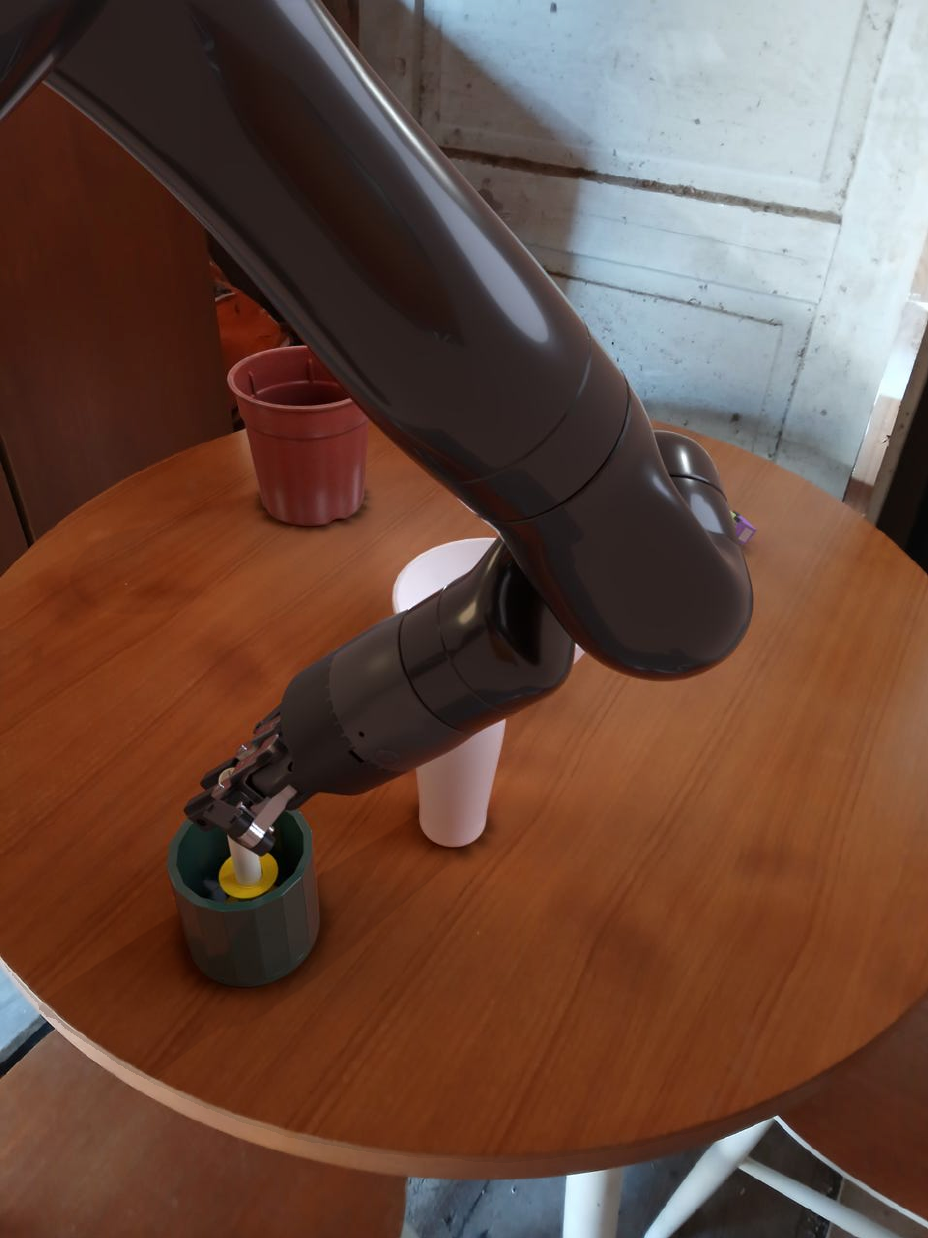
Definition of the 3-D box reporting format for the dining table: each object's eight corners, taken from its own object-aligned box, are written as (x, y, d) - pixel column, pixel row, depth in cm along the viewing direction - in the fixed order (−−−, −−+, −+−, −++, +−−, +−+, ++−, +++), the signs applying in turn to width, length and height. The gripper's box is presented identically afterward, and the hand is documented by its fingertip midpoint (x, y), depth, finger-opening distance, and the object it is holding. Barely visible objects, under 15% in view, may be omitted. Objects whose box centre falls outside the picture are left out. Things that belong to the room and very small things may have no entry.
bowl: (453, 572, 99) (455, 517, 94) (620, 632, 92) (631, 575, 88) (352, 675, 85) (350, 616, 81) (540, 754, 79) (549, 695, 74)
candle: (233, 965, 61) (200, 817, 51) (208, 906, 64) (173, 757, 55) (306, 931, 63) (287, 783, 53) (278, 876, 67) (255, 727, 57)
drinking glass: (507, 808, 74) (523, 673, 64) (473, 871, 69) (485, 734, 59) (433, 779, 76) (438, 644, 66) (394, 838, 71) (394, 701, 61)
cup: (213, 1012, 59) (194, 935, 54) (170, 905, 65) (149, 826, 60) (341, 949, 63) (335, 871, 58) (289, 853, 69) (280, 775, 64)
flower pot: (222, 486, 111) (204, 360, 101) (342, 455, 118) (336, 335, 108) (278, 553, 100) (265, 420, 90) (406, 514, 108) (407, 387, 98)
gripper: (380, 575, 51) (209, 692, 61) (285, 748, 41) (97, 855, 50) (467, 663, 53) (289, 762, 63) (399, 848, 43) (199, 932, 53)
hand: (205, 803), depth 57 cm, fingers closed on candle
